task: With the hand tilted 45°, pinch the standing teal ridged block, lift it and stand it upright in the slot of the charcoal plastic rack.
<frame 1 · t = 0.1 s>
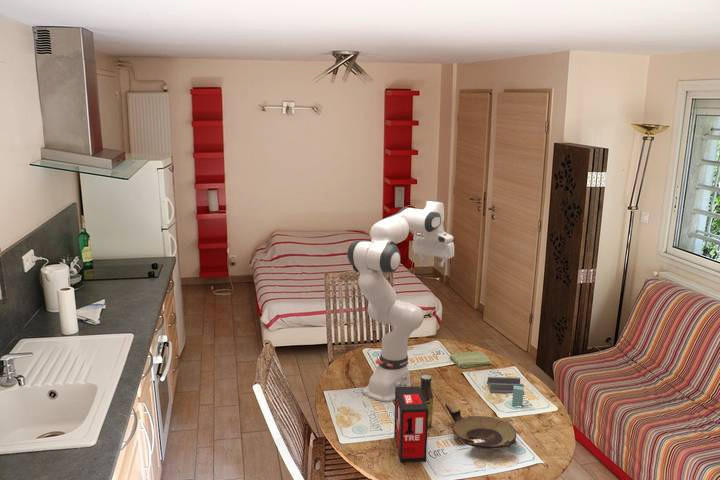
hand: (432, 264, 273), 48 cm above the table, tool pointing down, fingers open, 8 cm apart
cleaning product box: (409, 449, 213), on the table
teal ridged block: (517, 405, 243), on the table
sauce bottle: (423, 425, 228), on the table
frying pan: (479, 438, 220), on the table
slotted rack: (504, 388, 258), on the table
washcloth: (470, 362, 284), on the table
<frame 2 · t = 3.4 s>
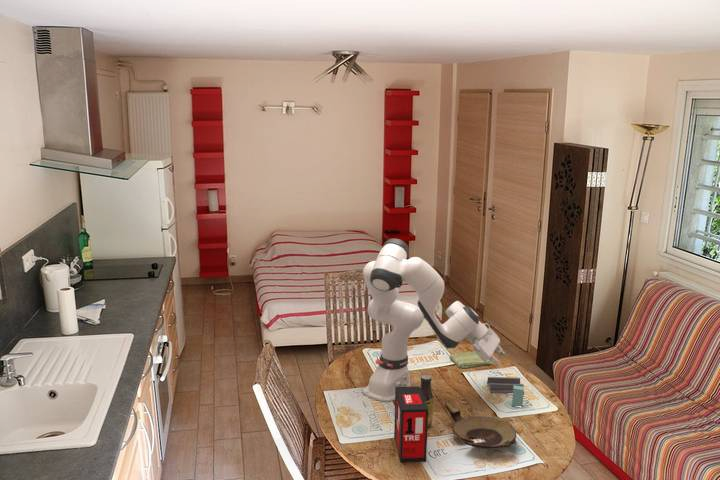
hand: (501, 359, 243), 18 cm above the table, tool tilted 50°, fingers open, 8 cm apart
nothing on the table moved.
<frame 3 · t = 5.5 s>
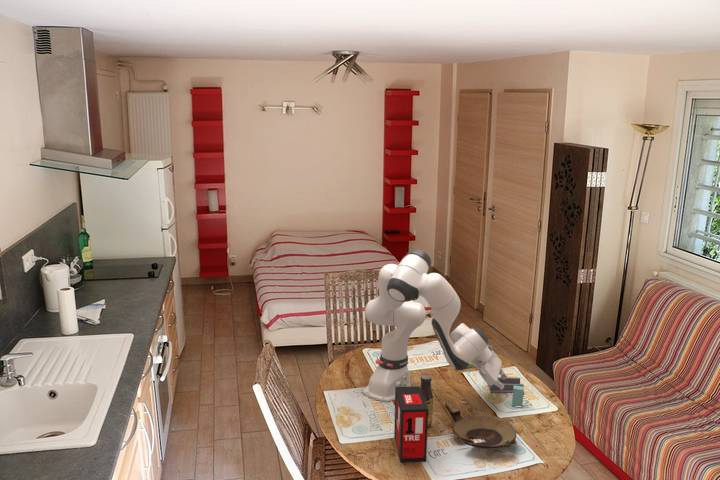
hand: (504, 383, 242), 9 cm above the table, tool tilted 45°, fingers open, 8 cm apart
nothing on the table moved.
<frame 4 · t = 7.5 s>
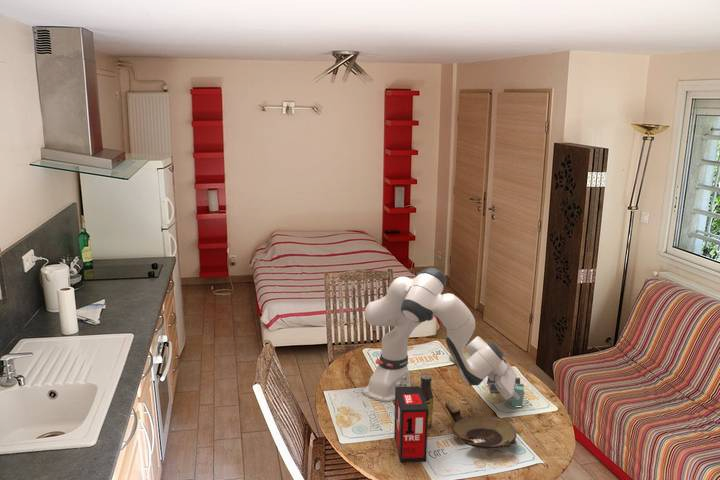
hand: (519, 395, 242), 4 cm above the table, tool tilted 45°, fingers closed on teal ridged block, 3 cm apart
teal ridged block: (517, 405, 243), on the table, touching gripper
everything else where it was.
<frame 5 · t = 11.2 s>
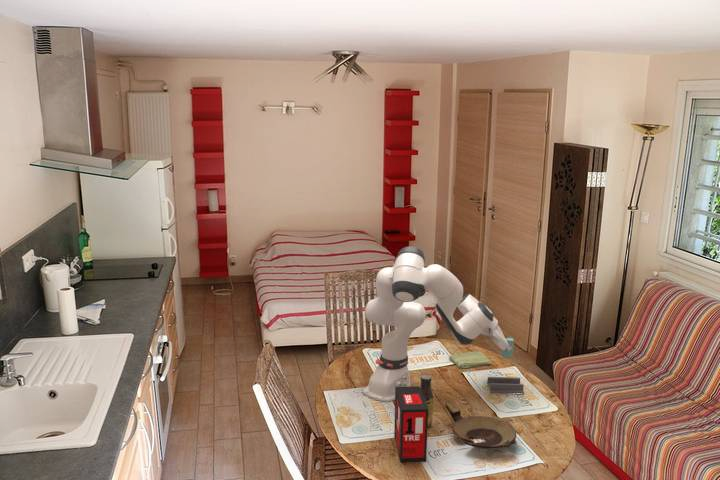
hand: (509, 347, 253), 19 cm above the table, tool tilted 45°, fingers closed on teal ridged block, 3 cm apart
teal ridged block: (507, 356, 254), point 15 cm above the table, touching gripper
everything else where it was.
when the fingers open (6 cm above the table, at t = 14.6 s): teal ridged block stays where it is, resting on slotted rack.
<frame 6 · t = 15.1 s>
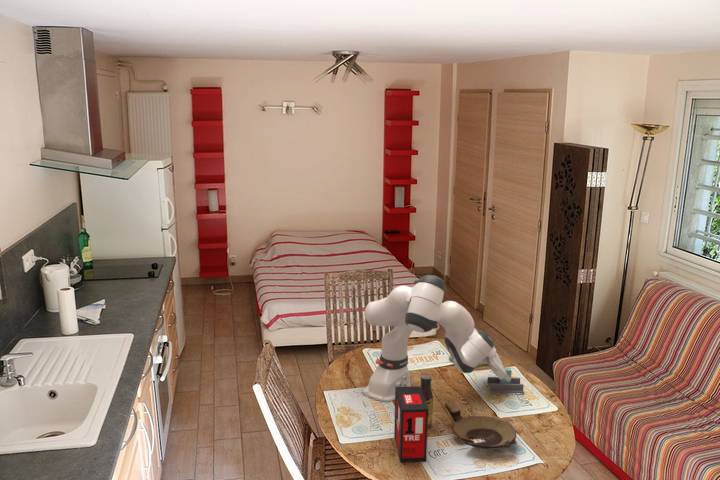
hand: (507, 374, 256), 6 cm above the table, tool tilted 45°, fingers open, 8 cm apart
teal ridged block: (505, 386, 258), point 1 cm above the table, touching slotted rack
everything else where it was.
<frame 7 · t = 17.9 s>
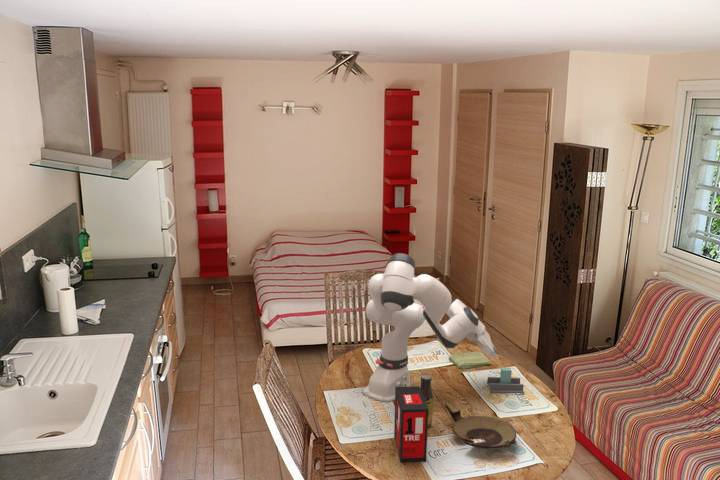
hand: (496, 354, 253), 16 cm above the table, tool tilted 45°, fingers open, 8 cm apart
nothing on the table moved.
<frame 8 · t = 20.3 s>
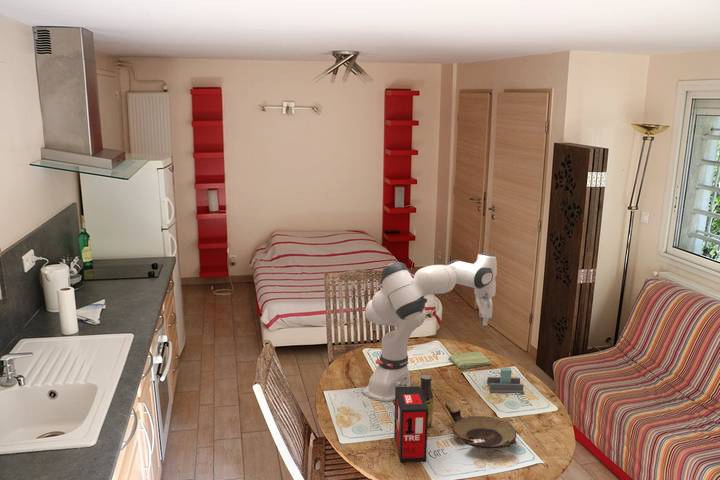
hand: (483, 320, 256), 29 cm above the table, tool pointing down, fingers open, 8 cm apart
at the end: teal ridged block 0.0 cm off-centre on the slotted rack, point 1.0 cm above the slotted rack's base; teal ridged block tilted 0°; the gripper is holding nothing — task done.
